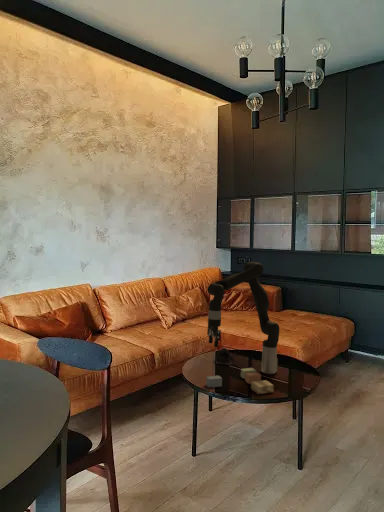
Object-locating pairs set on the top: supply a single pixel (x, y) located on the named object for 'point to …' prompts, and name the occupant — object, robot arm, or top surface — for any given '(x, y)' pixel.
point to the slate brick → (214, 381)
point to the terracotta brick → (252, 377)
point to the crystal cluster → (224, 357)
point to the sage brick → (247, 370)
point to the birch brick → (262, 386)
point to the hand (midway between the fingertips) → (213, 345)
